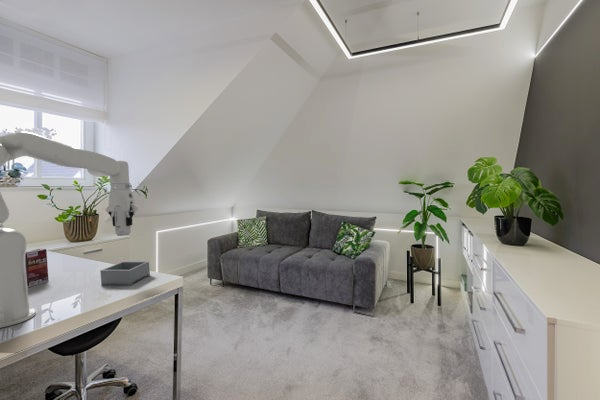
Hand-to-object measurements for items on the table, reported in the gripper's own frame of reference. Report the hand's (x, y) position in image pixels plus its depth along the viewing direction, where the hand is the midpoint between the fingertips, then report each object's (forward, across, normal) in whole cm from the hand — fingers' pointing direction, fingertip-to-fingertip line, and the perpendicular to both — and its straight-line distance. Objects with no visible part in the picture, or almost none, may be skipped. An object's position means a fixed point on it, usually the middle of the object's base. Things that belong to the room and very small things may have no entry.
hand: (122, 225), depth 131 cm
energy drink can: (+5, 0, 0) cm, 5 cm away
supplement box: (+27, +41, +6) cm, 49 cm away
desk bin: (+27, 0, 0) cm, 27 cm away
